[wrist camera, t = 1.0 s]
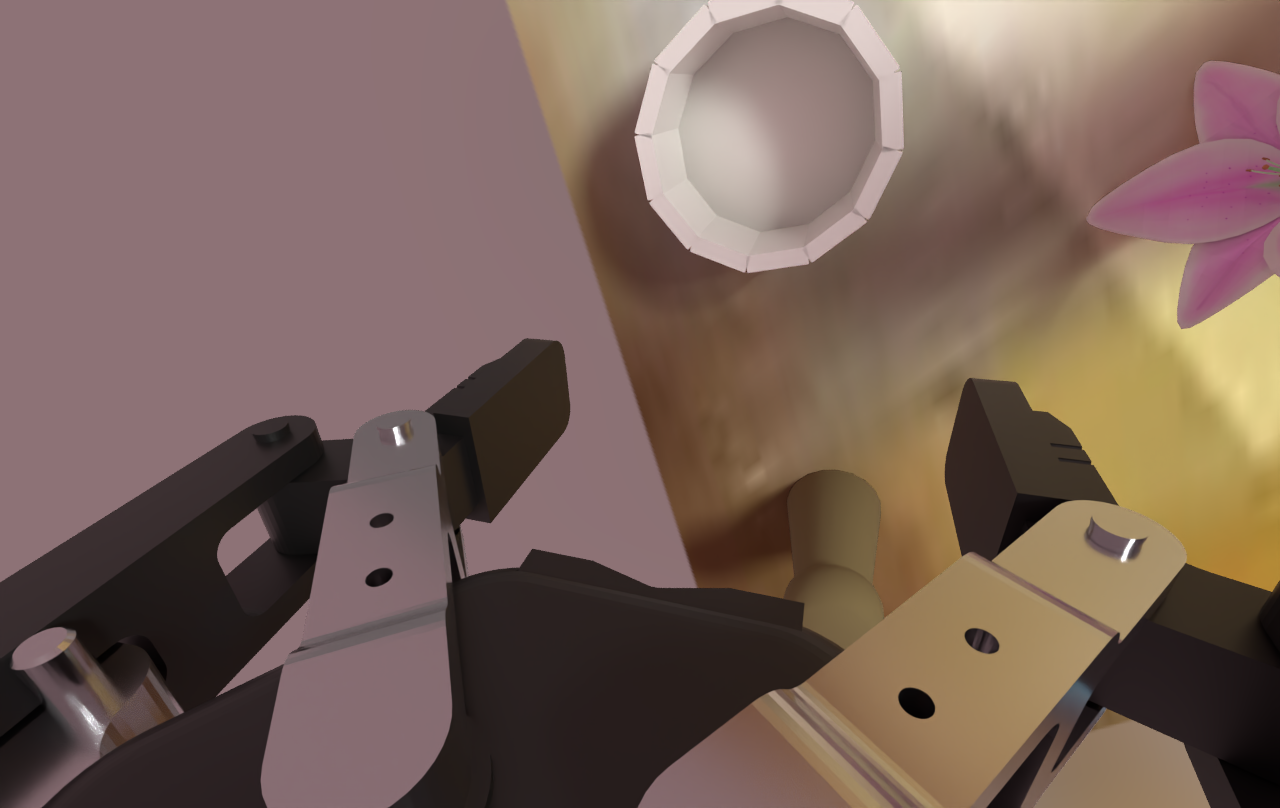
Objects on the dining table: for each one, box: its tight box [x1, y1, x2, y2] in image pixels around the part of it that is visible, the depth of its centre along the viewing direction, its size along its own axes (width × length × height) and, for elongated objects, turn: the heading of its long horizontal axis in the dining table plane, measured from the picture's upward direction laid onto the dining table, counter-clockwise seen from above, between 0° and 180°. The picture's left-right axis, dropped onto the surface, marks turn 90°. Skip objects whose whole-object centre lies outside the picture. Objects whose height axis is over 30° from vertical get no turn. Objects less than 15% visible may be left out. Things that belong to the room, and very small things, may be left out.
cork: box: [783, 470, 884, 649], centre depth 35 cm, size 6×6×11 cm
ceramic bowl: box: [634, 0, 904, 273], centre depth 28 cm, size 11×11×6 cm
